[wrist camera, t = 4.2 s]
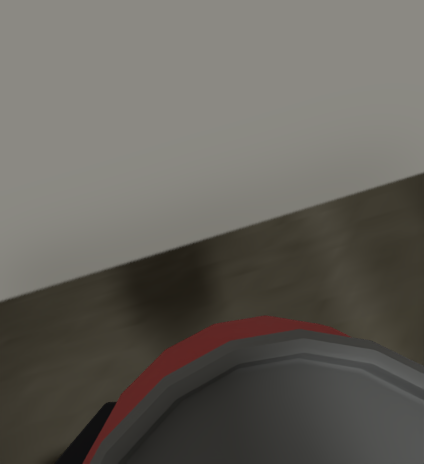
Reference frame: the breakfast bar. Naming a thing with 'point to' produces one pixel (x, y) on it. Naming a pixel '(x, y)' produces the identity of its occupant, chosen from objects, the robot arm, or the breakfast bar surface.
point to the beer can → (269, 401)
